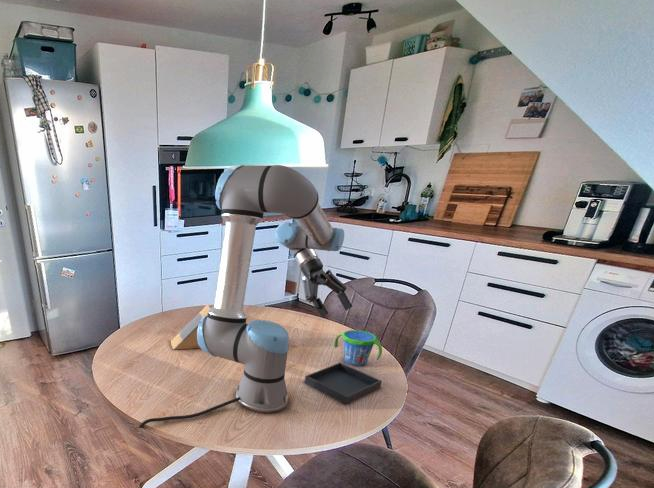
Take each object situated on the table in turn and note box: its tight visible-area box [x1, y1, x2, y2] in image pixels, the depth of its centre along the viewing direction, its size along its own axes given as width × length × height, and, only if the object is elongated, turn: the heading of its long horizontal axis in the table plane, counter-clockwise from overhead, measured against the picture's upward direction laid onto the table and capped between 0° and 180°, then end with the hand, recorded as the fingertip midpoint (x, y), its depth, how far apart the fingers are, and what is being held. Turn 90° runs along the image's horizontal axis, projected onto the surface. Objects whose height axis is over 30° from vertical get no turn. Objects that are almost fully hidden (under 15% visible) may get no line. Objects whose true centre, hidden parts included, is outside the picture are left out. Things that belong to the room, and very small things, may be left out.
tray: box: [304, 362, 383, 405], centre depth 122 cm, size 17×15×2 cm
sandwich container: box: [170, 303, 212, 350], centre depth 150 cm, size 9×15×15 cm, turn 98°
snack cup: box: [333, 329, 383, 366], centre depth 136 cm, size 16×10×10 cm
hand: (337, 312), depth 139 cm, fingers open, 13 cm apart
